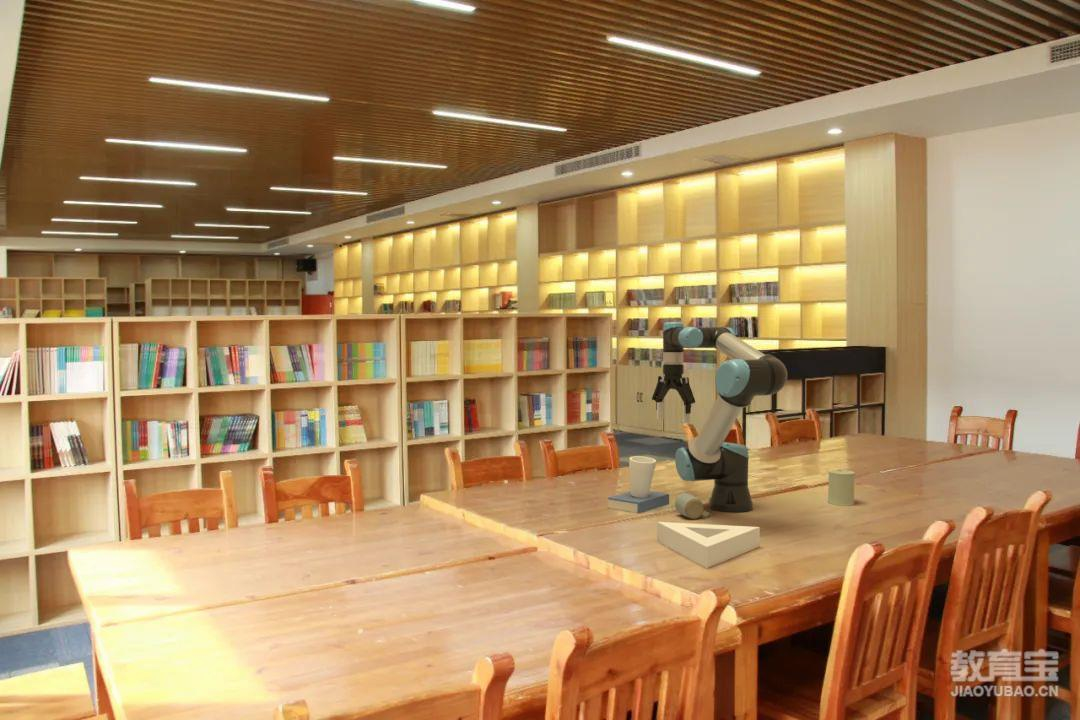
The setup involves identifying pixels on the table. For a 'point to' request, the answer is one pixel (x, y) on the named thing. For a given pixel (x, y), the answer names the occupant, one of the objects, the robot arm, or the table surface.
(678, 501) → the ceramic mug
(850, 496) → the can
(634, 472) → the foam cup
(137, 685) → the table surface
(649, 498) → the book
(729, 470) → the robot arm
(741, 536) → the triangle block
